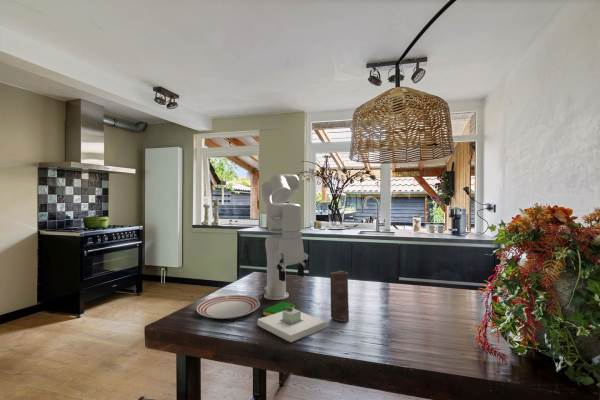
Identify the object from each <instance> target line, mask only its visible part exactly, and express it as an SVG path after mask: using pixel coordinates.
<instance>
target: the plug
mask: <svg viewBox="0 0 600 400" xmlns="http://www.w3.org/2000/svg"><path fill="white" fill-rule="evenodd" d="M286 309H287V310H284V311H283V322H284V323H286V324H288V325H290V326H291V325H293V324H296V323H299V322H301V312H302V311H301V310H298V309H296V308H294V309H293V308H291V307H288V306H286Z"/></svg>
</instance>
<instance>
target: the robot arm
mask: <svg viewBox="0 0 600 400" xmlns="http://www.w3.org/2000/svg"><path fill="white" fill-rule="evenodd" d="M300 187H301V182H300V178H299V176H297V174H293V173H292V174H289V173H287V174H286V173H284V174H283V173H278V174H274V175H272V176H271V177H270V179H269V180H266V181H264V182H263V183H262V184H261V196H262V199H263V201H264V203H265V209H266V210H265V211H266V226H267V230H268V231H269V232H270V233H281V234H272V235H268V236H267V237H266V239H265V240H264V242H265V245H264V246H265V252H266V286H264V290H266V291H265V293H264V295H263V297H264V299H267V300H270V301H280V300H281V301H283V300H286V299H288V298H289V296H290V294H289V292H287V291H286V290H287V286H286V285H287V282H286V281H287V280H286V278H287V276H286V275H287V273H286V268H287V266H292V265H297V264H298V265H297V276H299V277H301V278H304V277H305V267H306V264H307V262H308V259H309V254H308V253H306V252H305V251H304V249H305V248H304V243H303V238H302V235H303V231H302V207H301V205H300V204H298V203H297V202H288V201H290V199H291V197H293V196H294V195H296V193H298V191H299V190H300Z"/></svg>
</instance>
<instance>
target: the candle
mask: <svg viewBox="0 0 600 400" xmlns="http://www.w3.org/2000/svg"><path fill="white" fill-rule="evenodd" d="M348 275H349V273H348V272H347V271H344V270H337V271H333V272H330V276H329V277H330V279H329V280H330V318H331V319H332V320H335V321H337V322H342V323H343V322H344V323H345V322H349V320H350V315H349V313H350V311H349V310H350V309H349V308H350V307H349V282H348V281H349V279H348V278H349V276H348Z"/></svg>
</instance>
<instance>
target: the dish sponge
mask: <svg viewBox="0 0 600 400" xmlns="http://www.w3.org/2000/svg"><path fill="white" fill-rule="evenodd" d="M286 306H288V307H291V308H293V309H295V304H294V303H290V302H286V301H281V302H278V303H276V304H273V305H272V306H269V307H267V308H265V309H263V310H262V312H263V313H262V314H263V315H264V316H265V317H266V316H269V315H272V314H276V313H279V312H282V311H284V310H287V309H286Z"/></svg>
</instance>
